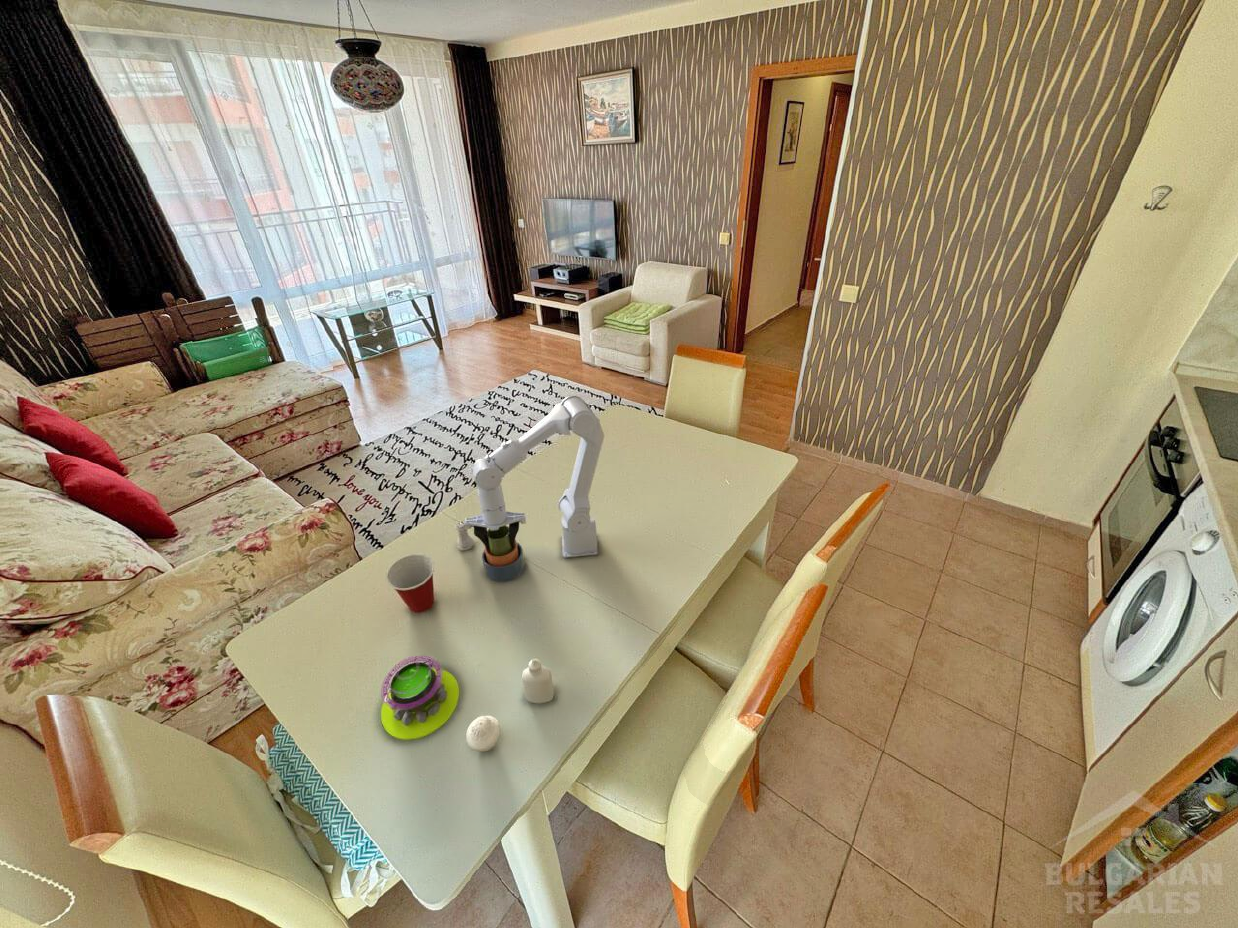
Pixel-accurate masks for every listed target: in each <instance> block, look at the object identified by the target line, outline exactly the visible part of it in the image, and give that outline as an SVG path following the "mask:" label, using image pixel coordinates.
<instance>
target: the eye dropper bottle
mask: <svg viewBox="0 0 1238 928" xmlns="http://www.w3.org/2000/svg"><path fill="white" fill-rule="evenodd" d="M521 682H522V686H523V691H524V696H525V697H524V698H525V700H526V701H527V702H530V703H533V704H545V703H549V702H551V701H552V700H553V699H554V695H555V693H554V692H555V690H554V689H555V688H554V682H553V676H552V671H551V669H550V668H548V667H545V666H543V665H542V662H541V661H540V659H538V658H535V657H534V658H531V660H530V661H529V662H528V665H527V668H525V669H524V670H523V671H522V675H521Z"/></svg>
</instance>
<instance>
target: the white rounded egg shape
mask: <svg viewBox="0 0 1238 928" xmlns="http://www.w3.org/2000/svg"><path fill="white" fill-rule="evenodd" d="M500 734H501V725H500V723H499V721H498V719H497V718H495V717H493V716H491V715H480V716H478V717H477V718H476V719H474V720H473V721H471V723H470V724H469V726H468V728H467V730H466V735H465V736H466V737H465V738H466V739H465V740H466V742H467V745H468V747H470V749H473V750H474V751H476V752H487V751H490V750H492V749H493V747H495V745H496V744H497V742H498V740H499V737H500V736H501V735H500Z"/></svg>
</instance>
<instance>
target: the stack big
mask: <svg viewBox="0 0 1238 928" xmlns="http://www.w3.org/2000/svg"><path fill="white" fill-rule="evenodd" d="M517 545H518V551H519V558H518V559H517V560H516V561H515V562H513V563H511V564H509V565H506V566H501V567H495V566H491V565H489V564H488V562H487V558H486V554H485V549H484V550H483V552H482V553H481V559H482V564H483V568H484V572H485V575H486V577H487V578H489V580H491V581H494V582H499V583H500V582H509V581H512V580H513V579H516V578H517V577H519V576H520V575H521V574H522V573H523V571H524V569H525V566H526V563H525V557H524V550H523V546H522V545H521V544H520V543H519V542H517Z"/></svg>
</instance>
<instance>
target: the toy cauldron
mask: <svg viewBox="0 0 1238 928" xmlns="http://www.w3.org/2000/svg"><path fill="white" fill-rule="evenodd" d="M391 678H392V679H391ZM390 681H391V682H390ZM388 688H389V689H388ZM380 689H382V692H380V697H381V699H382V701H383V702H382V703H383V704H382V706H381V711H380V717H381V718H380V719H381V724H382V726H383V729H384V730H385V731H386V732H387V734H389V735H390V736H391V737H393V738H396V739H398V740H403V741H409V740H417V739H421V738H425V737H426V736H429V735H430V734H433V733H434V732H435V731H437V730H438V729H440V728H441V727H442V726H443V725H444V724H445V723H446V722H447V721H448V720H449V719H450V718H451V716H452V715H453V713H454V711H455V710H456V707H457V705H458V703H459V699H460V698H459V697H460V688H459V684H458V682H457V680H456V678H455V676H454V675H452V673H450V672H449V671H447V670H445V669H443V667H442V664H441V663H440V662H439V660H438V659H435V657H432V656H427V655H425V654H424V655H422V654H420V655H415V656H410V657H406V658H404V659H402V660H401V661H399V662H398V663H396V664H395V665H394V666H393V668H392V669H391V670H390V672H388V673H387V674H386V676H385V677H384V679H383V681H382V684H381V687H380Z"/></svg>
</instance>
